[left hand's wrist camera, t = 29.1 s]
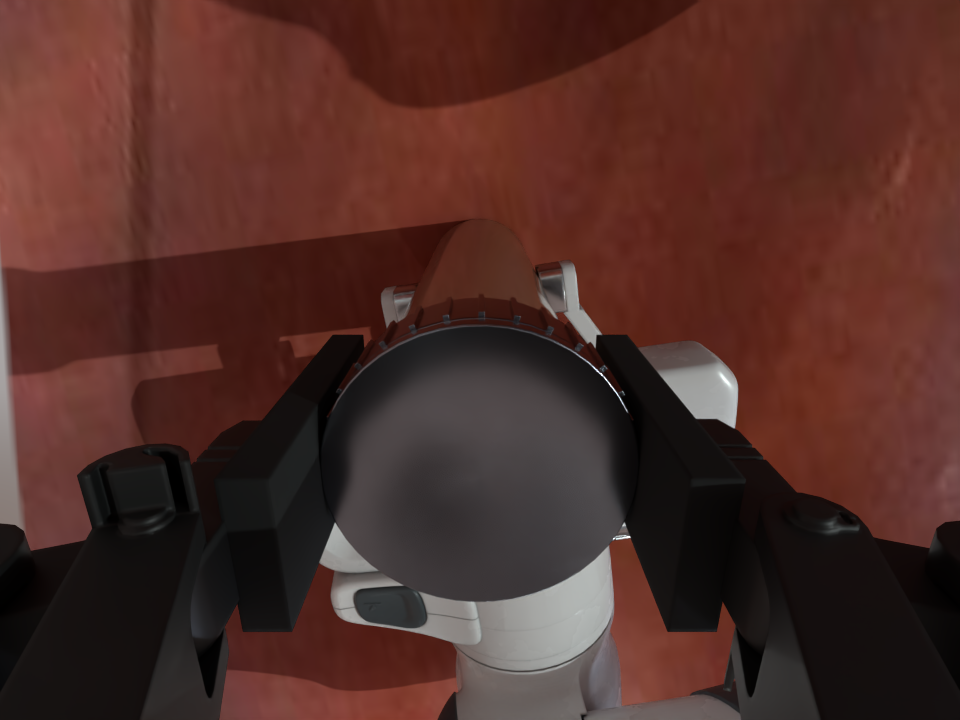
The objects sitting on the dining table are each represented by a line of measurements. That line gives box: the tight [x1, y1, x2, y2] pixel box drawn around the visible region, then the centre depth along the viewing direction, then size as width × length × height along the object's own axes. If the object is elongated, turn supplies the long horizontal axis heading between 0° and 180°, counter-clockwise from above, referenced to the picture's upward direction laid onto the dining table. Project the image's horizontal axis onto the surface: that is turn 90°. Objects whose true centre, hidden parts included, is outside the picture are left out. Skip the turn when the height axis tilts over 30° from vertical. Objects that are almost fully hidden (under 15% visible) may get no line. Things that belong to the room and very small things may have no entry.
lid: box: [320, 294, 640, 602], centre depth 11 cm, size 6×6×2 cm
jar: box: [401, 219, 558, 320], centre depth 20 cm, size 5×5×19 cm
